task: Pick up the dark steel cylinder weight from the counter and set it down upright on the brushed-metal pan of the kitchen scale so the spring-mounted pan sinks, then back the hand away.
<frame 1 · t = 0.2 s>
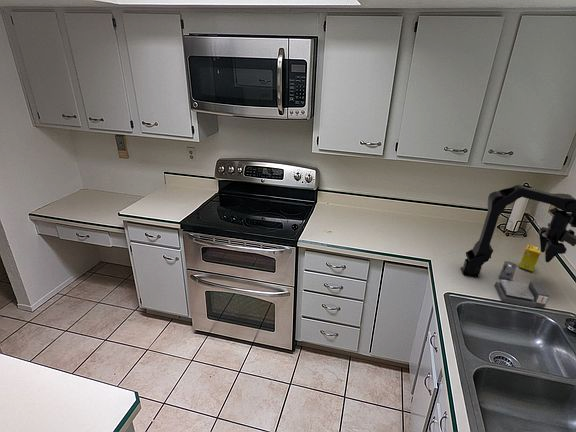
hand: (544, 256, 153), 14 cm above the worktop, tool pointing down, fingers open, 9 cm apart
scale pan: (516, 289, 148), point 4 cm above the worktop, slide at 0.4 cm
supplement box: (526, 268, 171), on the worktop
scale: (513, 296, 150), on the worktop
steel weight: (504, 279, 161), on the worktop
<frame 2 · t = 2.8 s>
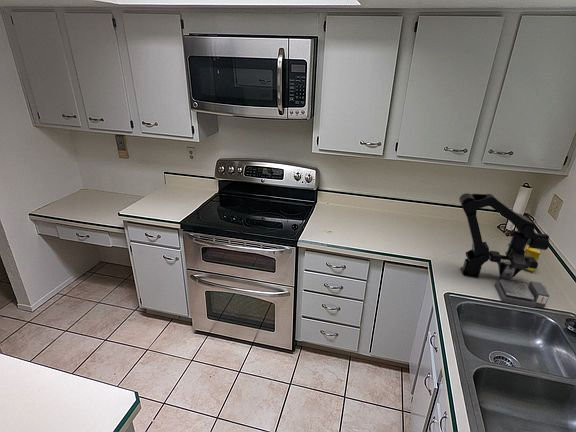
hand: (506, 275, 160), 2 cm above the worktop, tool pointing down, fingers closed on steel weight, 5 cm apart
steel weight: (505, 279, 161), on the worktop, touching gripper
everything else where it was.
when the fingers open (8 cm above the worktop, at t = 7.2 s): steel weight drops 2 cm, resting on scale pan.
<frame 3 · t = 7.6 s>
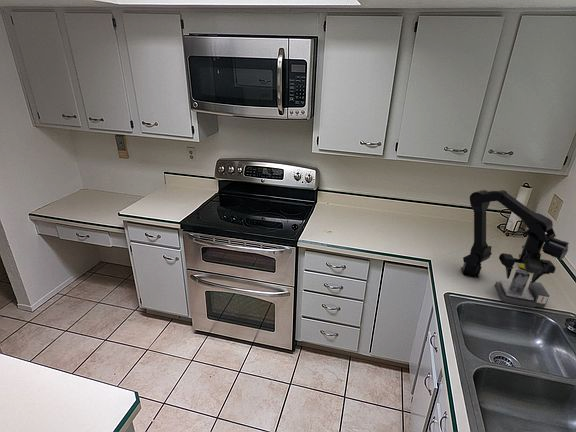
hand: (519, 280, 146), 8 cm above the worktop, tool pointing down, fingers open, 9 cm apart
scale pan: (516, 289, 148), point 3 cm above the worktop, slide at 0.8 cm, touching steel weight
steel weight: (516, 288, 148), point 4 cm above the worktop, touching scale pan
everything else where it was.
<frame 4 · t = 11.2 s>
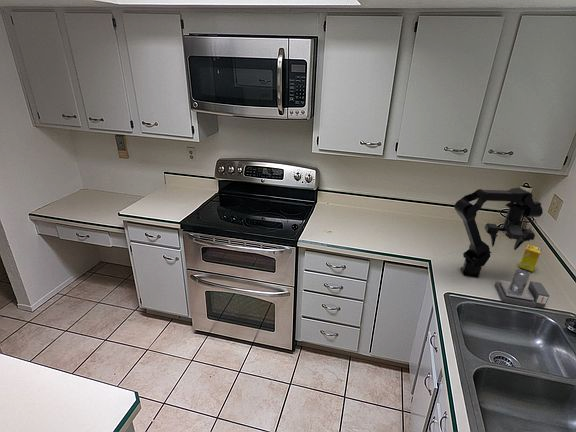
hand: (503, 247, 161), 13 cm above the worktop, tool pointing down, fingers open, 9 cm apart
nothing on the worktop moved.
at the end: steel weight 0.1 cm off-centre on the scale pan, point 4.5 cm above the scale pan's base; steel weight tilted 0°; the gripper is holding nothing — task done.
